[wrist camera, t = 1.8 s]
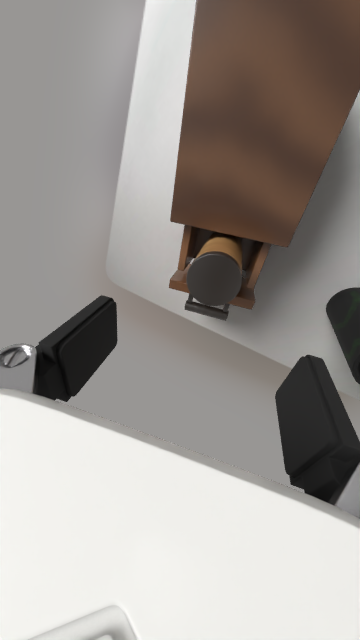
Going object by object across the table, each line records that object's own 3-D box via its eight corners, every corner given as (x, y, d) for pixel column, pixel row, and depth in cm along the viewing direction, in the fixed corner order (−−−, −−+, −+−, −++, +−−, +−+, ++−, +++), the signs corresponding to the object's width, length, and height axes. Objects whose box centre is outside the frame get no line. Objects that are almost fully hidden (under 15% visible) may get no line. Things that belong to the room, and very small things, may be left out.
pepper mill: (203, 259, 28) (182, 298, 19) (211, 224, 26) (191, 247, 16) (235, 267, 28) (231, 312, 18) (247, 232, 25) (250, 261, 16)
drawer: (241, 309, 32) (240, 335, 27) (178, 292, 33) (165, 313, 28) (290, 185, 23) (305, 186, 17) (199, 168, 24) (185, 163, 18)
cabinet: (276, 231, 26) (287, 247, 19) (188, 212, 28) (169, 221, 21) (341, 70, 18) (400, 0, 11) (214, 55, 20) (197, -16, 13)
